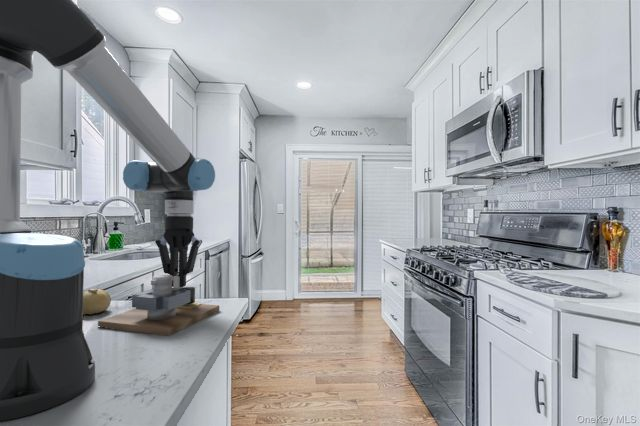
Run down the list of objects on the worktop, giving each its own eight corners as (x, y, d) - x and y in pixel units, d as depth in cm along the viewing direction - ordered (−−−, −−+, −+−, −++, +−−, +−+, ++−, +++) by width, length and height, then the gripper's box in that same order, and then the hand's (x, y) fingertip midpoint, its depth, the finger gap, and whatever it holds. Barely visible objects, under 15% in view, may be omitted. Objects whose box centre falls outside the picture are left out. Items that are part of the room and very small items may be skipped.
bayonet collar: (164, 320, 74) (164, 298, 74) (127, 316, 77) (127, 295, 77) (208, 302, 91) (208, 284, 91) (176, 299, 93) (176, 282, 94)
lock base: (168, 335, 72) (169, 283, 72) (97, 327, 77) (98, 278, 77) (219, 310, 91) (219, 269, 91) (159, 305, 96) (160, 266, 97)
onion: (67, 316, 86) (68, 289, 86) (95, 308, 94) (95, 283, 94) (92, 318, 84) (92, 291, 84) (117, 310, 92) (118, 285, 92)
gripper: (149, 215, 89) (148, 301, 89) (195, 215, 88) (194, 302, 88) (164, 215, 97) (163, 294, 96) (206, 215, 96) (206, 295, 96)
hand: (178, 298), depth 92 cm, fingers closed
